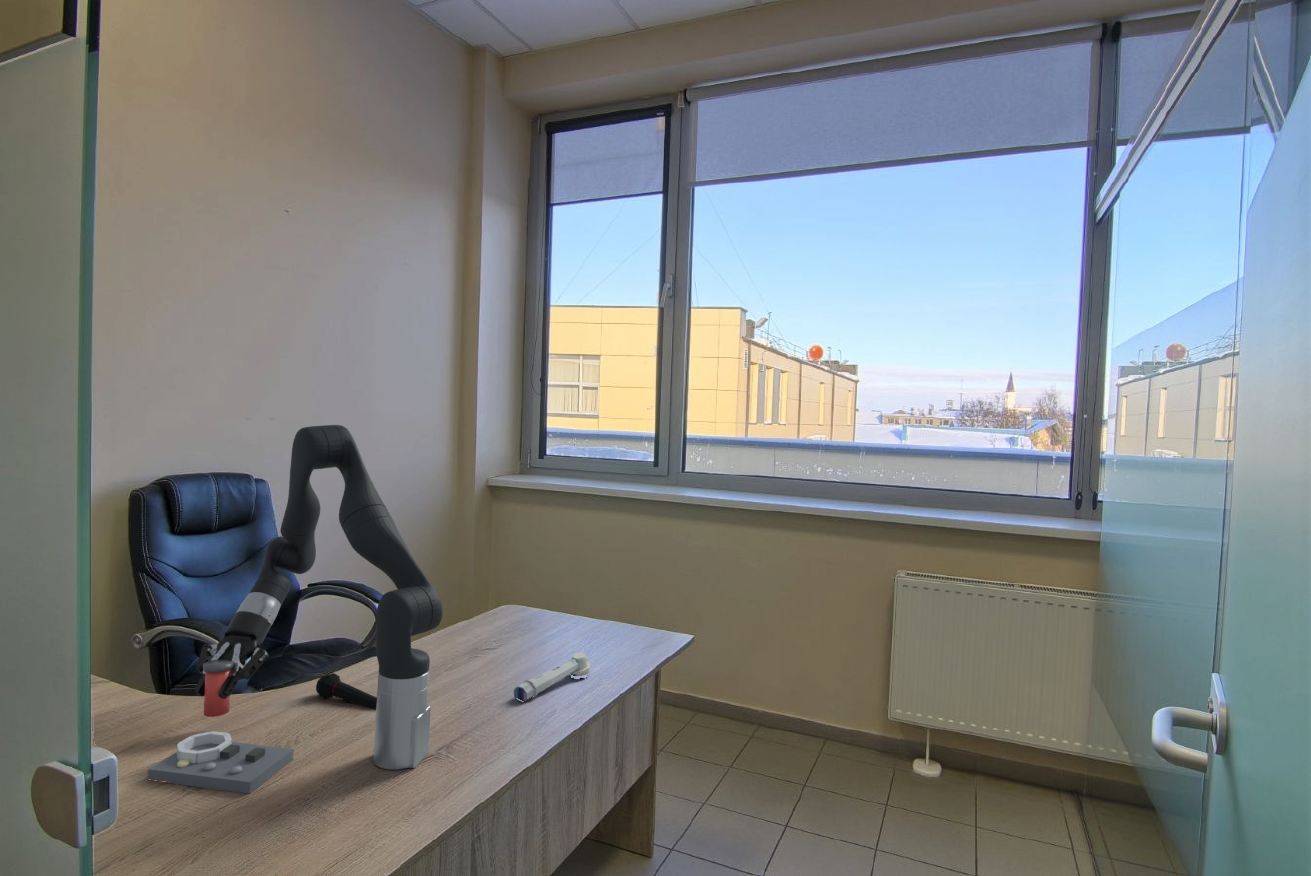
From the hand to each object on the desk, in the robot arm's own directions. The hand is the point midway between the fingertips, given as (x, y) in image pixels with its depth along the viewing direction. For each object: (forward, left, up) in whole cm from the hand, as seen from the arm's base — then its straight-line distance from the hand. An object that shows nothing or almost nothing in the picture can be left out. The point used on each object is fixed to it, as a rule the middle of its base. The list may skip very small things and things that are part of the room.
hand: (210, 695), depth 137 cm
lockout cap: (0, -2, -4) cm, 5 cm away
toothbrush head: (-60, -42, -8) cm, 74 cm away
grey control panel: (-12, +11, -8) cm, 18 cm away
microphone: (-18, -21, -8) cm, 29 cm away
